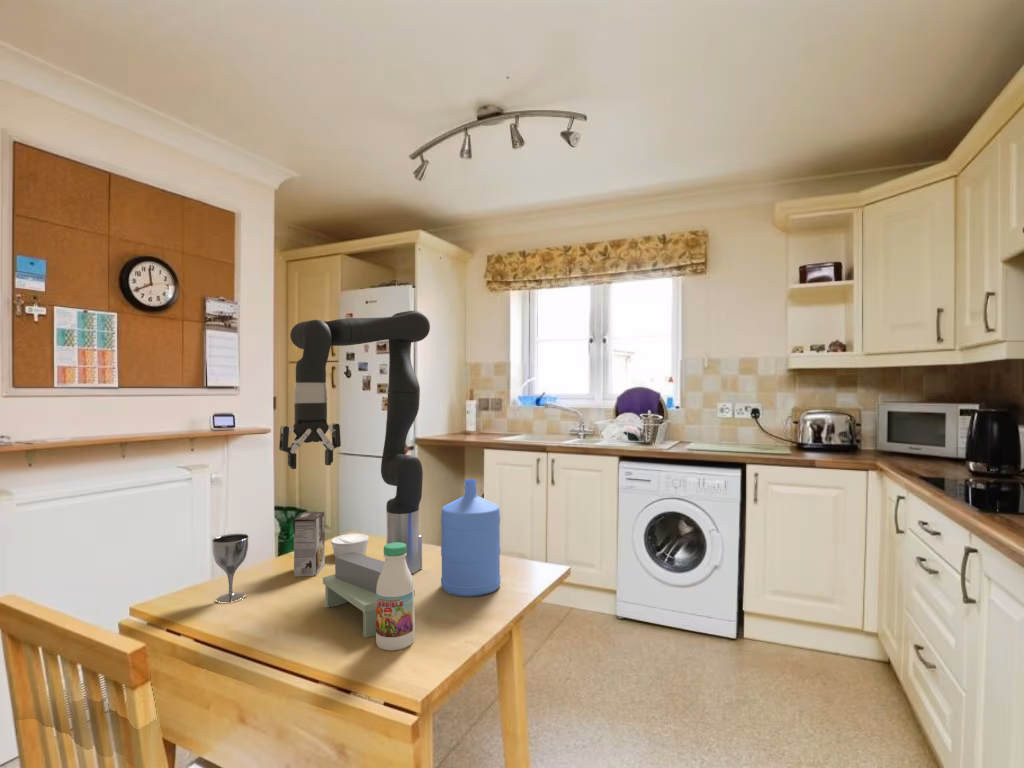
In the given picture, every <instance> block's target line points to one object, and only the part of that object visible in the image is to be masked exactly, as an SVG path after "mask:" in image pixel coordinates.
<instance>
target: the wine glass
mask: <svg viewBox="0 0 1024 768" xmlns="http://www.w3.org/2000/svg"><path fill="white" fill-rule="evenodd" d="M211 542H212V545H211V546H212V554H213V555H212V556H213V558H214V562H215V564H216V565H217V566H218V567H219V568H221V569H222V571H224V573H225V574H226V576H227V579H228V580H227V581H228V582H227V583H228V593H225V594H221V595H219V596H220V597H219V596H218V598H217V597H216V598H217V599H216V598H215V599H216V600H217V601H218V602H219V601H220V602H231V601H235V600H238V599H241V598H243V596H244V595H245V594H246V593H245V592H242V593H241V591H237V592H236V591H235V592H234V593H233V591H234V590H233V581H234V575H235V574H236V572H237V570H238V568H239V567H240V566H241V565H242V564H243V563H244V561H245V560H246V558H247V554H248V550H249V535H248V534H246V533H230V534H224V535H220V536H219V535H218V536H216V537H213V539H212V541H211ZM244 593H245V594H244Z"/></svg>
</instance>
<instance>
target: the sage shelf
mask: <svg viewBox="0 0 1024 768" xmlns="http://www.w3.org/2000/svg"><path fill="white" fill-rule="evenodd" d="M322 584H323V586H325V589H324V590H325V592H324V593H325V594H324V595H325V601H324V602H325V603H324V604H325V608H327V607H328V608H327V609H330V608H329V607H331V608H333V606H334V607H337V606H340V605H344V604H347V602H348V603H349V604H351V605H353V606H355V607H356V608H357V609H359V610H361V611H362V612H363V613H362V620H363V621H362V623H363V625H362V630H363V631H362V636H364V638H365V639H368V638H370V637H373V636H376V594H375V593H373V592H370V591H368V590H365V589H362V588H360V587H357V586H355V585H352V584H350V583H347V582H344V581H342V580H339V579H337V578H335V573H334V574H331V575H327V576H323V577H322ZM415 592H416V591H415V589H414V598H415V597H416V593H415Z"/></svg>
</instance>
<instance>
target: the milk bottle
mask: <svg viewBox="0 0 1024 768" xmlns="http://www.w3.org/2000/svg"><path fill="white" fill-rule="evenodd" d="M406 550H407V548H406V544H404V543H400V542H395V543H389V544H387V543H385V544H384V546H383V557H384V561H383V562H384V566H383V569H382V571H381V574H380V576H379V578H378V582H377V588H376V635H375V641H376V642H375V643H376V645H377V647H378V648H379V649H380V650H384V651H388V652H389V651H394V652H395V651H399V650H402V649H405V648H409V647H410V646H411V645H412V644H413V643H414V640H415V597H414V590H415V586H414V585H415V584H414V578H413V576H412V574H411V573H410V571H409V569H408V566H407V563H406V559H405V556H406V555H407V554H406Z"/></svg>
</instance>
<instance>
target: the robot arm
mask: <svg viewBox="0 0 1024 768" xmlns="http://www.w3.org/2000/svg"><path fill="white" fill-rule="evenodd" d="M430 331H431V324H430V320H429V318H428V317H427V315H426V314H425V313H424V312H421V311H419V310H406V311H402V312H401V311H400V312H396V313H394V314H393V315H392V316H385V317H384V316H383V317H352V318H349V317H348V318H339V319H333V320H329V321H323V320H321V319H310V320H307V321H306V320H305V321H301V322H298V323H297V324H295V325H293V327H292V329H291V330H290V334H289V336H290V340H291V342H292V343H293V345H294V346H295V347H296V348H299V349H300V350H303V351H302V352H303V353H302V357H301V358H300V359H299V360H297V361H296V364H295V385H294V386H295V387H294V399H293V400H294V418H293V419H294V424H293V426H287V425H281V427H280V429H279V444H278V445H279V447H278V449H279V450H280V451H281V452H286V453H287V466H288V467H289V468H290V469H292V470H297V453H296V451H297V450H298V449H299V448H300V447H301V446H302V445H303V444H304V443H307V444H310V443H312V442H313V443H320V444H321V445H322V446H323V447H324V448H325V450H324V464H325V466H331V465H332V463H333V462H334V449H336V448H340V447H341V446H342V445H341V443H342V441H341V426H340V423H336V422H335V423H331V424H328V422H327V421H328V399H329V398H328V389H327V368H326V367H327V363H328V359H329V356H330V351H331V347H334V346H336V347H337V346H338V347H342V346H343V347H344V346H345V347H346V346H354V345H361V344H369V343H374V342H381V341H388V351H389V352H388V354H389V357H388V360H389V364H388V365H389V366H388V387H387V400H386V401H387V403H386V406H387V408H386V409H387V410H386V422H385V423H386V424H385V437H384V445H383V449H382V457H381V464H380V474H381V478H382V480H383V482H384V483H385V484H387V485H389V486H393V487H396V492H395V493H396V494H395V497H394V498H390V499H388V501H387V502H386V515H385V516H386V519H385V520H386V544H389V543H395V542H400V543H404V544H406V548H407V550H406V554H407V555H406V556H405V559H406V563H407V566H408V569H409V571H410V573H411V575H412V574H414V573H416V572H418V571H419V570H422V569H423V536H422V535H421V534H420V503H421V501H422V496H423V478H424V474H423V473H424V471H423V465H422V462H421V460H420V459H419V458H418V457H417V456H415V455H410V454H406V441H407V438H408V437H407V436H408V433H409V431H410V429H411V428H412V426H413V424H414V421H415V420H416V418H417V415H418V413H419V410H420V397H421V396H420V395H421V392H420V391H421V387H420V384H419V380H418V377H417V375H416V372H415V370H414V368H413V365H412V364H413V363H412V359H411V349H412V348H411V347H412V343H417V342H421V341H422V340H425V339H426V337H428V335H429V333H430ZM328 431H329V432H330V433H331V440H330V439H329V437H328V436H327V435H326V433H327V432H328ZM292 432H293V433H294V434H295V437H294V438H293V439H292V441H291V444H290V445H289V438H290V437H289V436H290V435H291V434H292Z"/></svg>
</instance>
